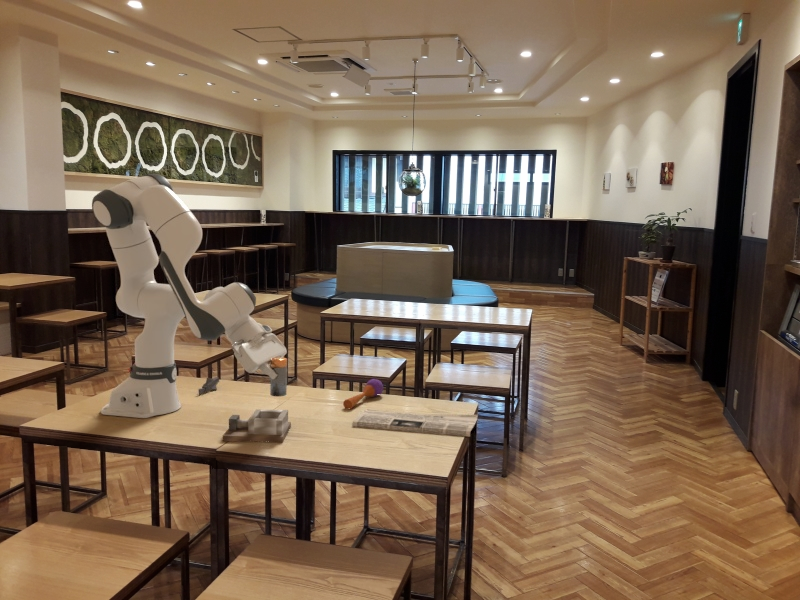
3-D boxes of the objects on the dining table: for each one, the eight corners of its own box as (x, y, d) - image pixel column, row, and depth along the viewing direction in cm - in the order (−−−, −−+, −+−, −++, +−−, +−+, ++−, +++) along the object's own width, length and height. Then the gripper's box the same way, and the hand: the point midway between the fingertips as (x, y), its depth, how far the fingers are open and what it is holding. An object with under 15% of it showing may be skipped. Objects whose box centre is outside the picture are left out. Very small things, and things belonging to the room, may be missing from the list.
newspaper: (352, 428, 174) (352, 416, 173) (362, 414, 186) (363, 403, 185) (475, 439, 167) (475, 426, 167) (477, 424, 179) (478, 412, 179)
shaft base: (222, 441, 160) (222, 421, 159) (234, 425, 172) (234, 407, 171) (282, 442, 160) (282, 422, 159) (290, 427, 172) (290, 408, 171)
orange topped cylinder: (269, 396, 165) (269, 360, 164) (271, 392, 169) (271, 357, 168) (285, 396, 165) (285, 360, 164) (287, 392, 169) (287, 357, 168)
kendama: (338, 395, 191) (369, 377, 208) (341, 413, 191) (372, 393, 209) (353, 395, 188) (384, 376, 205) (357, 413, 188) (387, 393, 206)
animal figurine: (205, 399, 201) (203, 385, 199) (194, 398, 202) (192, 384, 200) (224, 384, 212) (223, 371, 210) (213, 383, 213) (212, 370, 211)
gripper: (237, 336, 157) (271, 376, 155) (271, 325, 176) (302, 360, 175) (221, 351, 158) (255, 391, 157) (257, 338, 178) (288, 374, 177)
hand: (280, 375), depth 166 cm, fingers closed on orange topped cylinder, 4 cm apart
